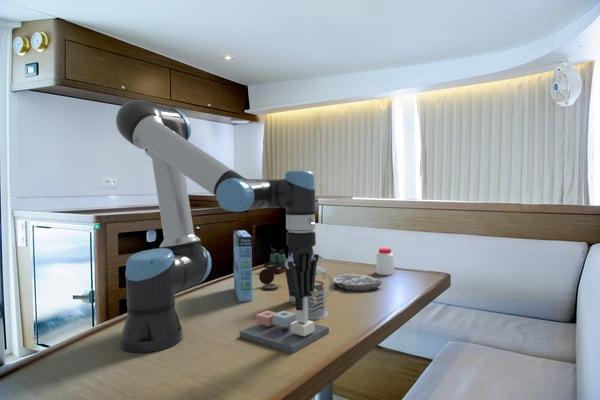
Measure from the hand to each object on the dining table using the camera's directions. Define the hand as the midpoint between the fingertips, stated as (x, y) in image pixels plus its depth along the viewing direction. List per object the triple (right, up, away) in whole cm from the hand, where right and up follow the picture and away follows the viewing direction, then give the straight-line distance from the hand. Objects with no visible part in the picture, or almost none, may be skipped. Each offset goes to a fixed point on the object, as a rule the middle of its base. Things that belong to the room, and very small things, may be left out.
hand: (302, 321), depth 102 cm
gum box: (-22, -4, +44) cm, 49 cm away
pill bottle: (+38, -2, +75) cm, 84 cm away
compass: (-12, -4, +53) cm, 54 cm away
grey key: (-5, -3, +4) cm, 7 cm away
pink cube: (-10, -4, +7) cm, 13 cm away
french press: (+4, -4, +21) cm, 22 cm away
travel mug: (-1, -4, +34) cm, 34 cm away
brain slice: (+21, -3, +53) cm, 57 cm away
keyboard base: (-5, -5, +4) cm, 8 cm away
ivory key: (0, -4, 0) cm, 4 cm away
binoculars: (-12, -2, +81) cm, 81 cm away
